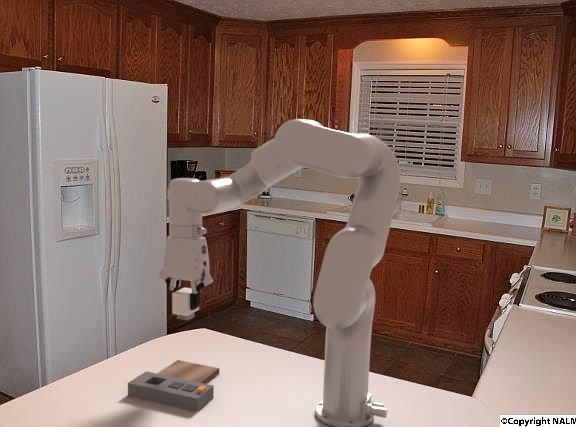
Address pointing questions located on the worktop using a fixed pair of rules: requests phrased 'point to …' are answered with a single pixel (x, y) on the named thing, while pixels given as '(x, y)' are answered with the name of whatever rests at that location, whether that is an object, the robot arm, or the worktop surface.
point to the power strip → (171, 391)
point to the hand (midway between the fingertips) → (185, 306)
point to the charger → (182, 304)
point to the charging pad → (191, 371)
